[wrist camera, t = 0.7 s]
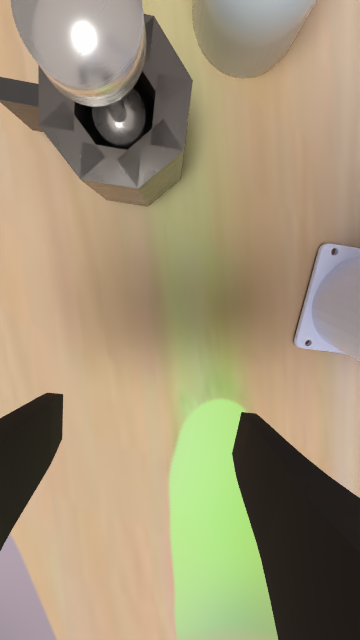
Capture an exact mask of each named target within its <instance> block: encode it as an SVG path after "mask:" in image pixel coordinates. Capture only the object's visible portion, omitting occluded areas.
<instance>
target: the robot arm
mask: <svg viewBox="0 0 360 640" xmlns="http://www.w3.org/2000/svg"><path fill="white" fill-rule="evenodd" d="M333 248H334V249H335V253H334V254H333V255H332V254H331V251H332V249H333ZM307 340H309V343H308V344H305V342H306V341H307ZM294 344H295V345H296V346H297V347H299V348H304V349H312V350H320V351H328V352H335V353H343V354H347V355H349V356H351V357H352V358H354V359H356V360H357V361H359V362H360V248H356V247H349V246H343V245H337V244H330V243H328V244H323V245H321V246H320V248H319V250H318V254H317V258H316V261H315V265H314V269H313V272H312V276H311V280H310V283H309V287H308V291H307V294H306V298H305V302H304V305H303V309H302V313H301V316H300V320H299V324H298V327H297V331H296V335H295V338H294ZM62 419H63V394H55V393H46V394H44V395H42V396H40V397H38V398H36V399H34V400H32V401H31V402H29V403H27V404H25V405H24V406H22V407H20V408H18V409H16V410H15V411H13V412H11V413H9V414H7V415H6V416H4V417H2V418H0V551H1V549H2V547H3V545H4V543H5V541H6V539H7V537H8V536H9V534H10V532H11V530H12V528H13V527H14V525H15V523H16V522H17V520H18V518H19V517H20V515H21V513H22V512H23V510H24V508H25V507H26V505H27V503H28V501H29V500H30V498H31V496H32V495H33V493H34V491H35V490H36V488H37V486H38V485H39V483H40V481H41V480H42V478H43V476H44V475H45V473H46V471H47V469H48V468H49V466H50V464H51V462H52V460H53V458H54V456H55V453H56V451H57V449H58V447H59V444H60V442H61V440H62ZM232 455H233V461H234V467H235V472H236V477H237V481H238V485H239V488H240V491H241V494H242V498H243V501H244V504H245V507H246V510H247V514H248V517H249V520H250V523H251V526H252V530H253V533H254V536H255V539H256V542H257V546H258V550H259V553H260V557H261V560H262V565H263V569H264V574H265V578H266V583H267V587H268V592H269V596H270V600H271V606H272V611H273V615H274V620H275V625H276V630H277V634H278V640H360V498H359V497H357V496H356V495H354V494H353V493H352V492H350V491H349V490H347V489H346V488H345V487H343V486H342V485H340V484H339V483H338V482H336V481H335V480H333V479H332V478H331V477H329V476H328V475H327V474H326V473H324V472H323V471H322V470H320V469H319V468H318V467H317V466H315V465H314V464H313V463H312V462H311V461H309V460H308V459H307V458H306V457H304V456H303V455H302V454H301V453H300V452H299V451H297V450H296V449H295V448H294V447H293V446H292V445H291V444H290V443H288V442H287V441H286V440H285V439H284V438H283V437H282V436H281V435H280V434H278V433H277V432H276V431H275V430H274V429H273V428H272V427H271V426H270V425H269V424H267V423H266V422H265V421H264V420H263V419H262V418H261V417H260V416H258V415H257V414H254V413H244V412H242V413H241V417H240V422H239V426H238V430H237V435H236V439H235V444H234V448H233V452H232Z"/></svg>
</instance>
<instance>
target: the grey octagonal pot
mask: <svg viewBox="0 0 360 640" xmlns="http://www.w3.org/2000/svg"><path fill="white" fill-rule="evenodd" d="M144 22H145V31H146V56H145V62H144V66H143V69H142V72H141V74H140V77H139V79H138V80H137V82H136V84H135V85H134V87H133V88H134V89H135V90H136V91H137V92H138V94H139V95H140V97H141V99H142V101H143V104H144V108H145V113H146V128H145V131H144V134H143V136H142V138H141V139H139V140H138V141H137V142H136V143H135V144H134V145H133V146H131V147H127V148H118V147H115V146H112V145H111V144H109V143H108V142H106V141H105V140H104V138H103V137H102V136H101V134H100V133H99V131H98V129H97V128H96V126H95V124H94V121H93V117H92V106H86V105H82V104H79V103H77V102H74V101H73V100H71V99H69V98H67V97H66V96H65V95H63V94H62V93H61V92H60V91H59V90H58V89H57V88H56V87H55V86H54V85H53V84H52V83H51V81H50V80H49V79H48V77H47V76H46V74H45V73H44V72H43V70H42V69H41V68H40V66H39V84H35V83H30V82H24V81H19V80H13V79H8V78H3V77H0V102H1V103H2V104H3V105H4V106H6V107H7V108H8V109H9V110H10V111H11V112H12V113H14V114H15V115H16V116H17V117H18V118H19V119H21V120H22V121H23V122H24V123H25V124H26V125H27V126H29V127H30V128H31V129H32V130H35V131H40V132H44V133H45V134H46V135H47V137H48V138H49V139H50V140H51V142H52V143H53V144H54V146H55V147H56V148H57V150H58V151H59V152H60V153H61V155H62V156H63V157H64V159H65V160H66V161H67V163H68V164H69V165H70V166H71V168H72V169H73V170H74V172H75V173H76V174H77V176H78V177H79V178H80V179H81V180H82V181H83V182H84V183H86V184H87V185H88V186H90V187H91V188H92V189H93V190H95V191H96V192H97V193H99V194H100V195H101V196H102V197H104V198H105V199H106V200H111V201H117V202H124V203H130V204H136V205H142V206H149V205H150V204H151V203H152V202H154V201H155V200H156V199H157V198H158V197H160V196H161V195H162V194H163V193H164V192H166V191H167V190H168V189H169V188H171V187H172V186H173V185H174V184H175V183H177V182H178V181H179V180H180V177H181V170H182V162H183V154H184V147H185V139H186V131H187V123H188V115H189V106H190V98H191V90H192V81H193V80H192V79H191V77H190V75H189V74H188V72H187V70H186V69H185V67H184V65H183V64H182V62H181V60H180V59H179V57H178V55H177V54H176V52H175V50H174V49H173V47H172V45H171V44H170V42H169V40H168V39H167V37H166V35H165V34H164V32H163V30H162V29H161V27H160V25H159V24H158V22H157V20H156V19H155V17H154V16H151V15H146V14H144Z"/></svg>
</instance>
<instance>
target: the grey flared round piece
mask: <svg viewBox="0 0 360 640" xmlns="http://www.w3.org/2000/svg"><path fill="white" fill-rule="evenodd" d="M11 7H12V13H13V17H14V20H15V24H16V27H17V29H18V32H19V34H20V37H21V38H22V40H23V42H24V44H25V46H26V47H27V49H28V51H29V52H30V54H31V55H32V56H33V58H34V59H35V61H36V62H37V63H38V65H39V66H40V68H41V69H42V70H43V72H44V73H45V74H46V76H47V77H48V79H49V80H50V81H51V83H52V84H53V85H54V86H55V87H56V88H57V89H58V90H59V91H60V92H61V93H62V94H63V95H65V96H66V97H67V98H69V99H71V100H73V101H74V102H77V103H79V104H82V105H86V106H92V117H93V121H94V124H95V126H96V128H97V129H98V131H99V133H100V134H101V136H102V137H103V138H104V140H105V141H106V142H108V143H109V144H111V145H112V146H115V147H118V148H127V147H131V146H133V145H134V144H135V143H136V142H137V141H138V140H139V139H141V138H142V136H143V134H144V131H145V128H146V113H145V108H144V104H143V101H142V99H141V97H140V95H139V94H138V92H137V91H136V90H135V89H134V88H133V87H134V85H135V84H136V82H137V80H138V79H139V77H140V74H141V72H142V69H143V66H144V62H145V56H146V31H145V22H144V14H143V6H142V0H11Z"/></svg>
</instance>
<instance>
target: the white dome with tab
mask: <svg viewBox="0 0 360 640" xmlns="http://www.w3.org/2000/svg"><path fill="white" fill-rule="evenodd" d="M316 1H317V0H193V9H192V14H193V26H194V31H195V35H196V39H197V41H198V44H199V46H200V48H201V50H202V52H203V54H204V55H205V57H206V58H207V60H208V61H209V62H210V63H211V64H212V65H213V66H214V67H215V68H216V69H217V70H219V71H221V72H222V73H224V74H226V75H228V76H231V77H235V78H252V77H256V76H259V75H262V74H264V73H266V72H267V71H269V70H270V69H272V68H273V67H274V66H275V65H276V64H277V63H279V62H280V60H281V59H282V58H283V57H284V55H285V54H286V52H287V51H288V49H289V48H290V46H291V44H292V42H293V41H294V39H295V37H296V36H297V34H298V32H299V30H300V29H301V27H302V25H303V23H304V22H305V20H306V18H307V17H308V15H309V13H310V11H311V10H312V8H313V6H314V4H315V3H316Z"/></svg>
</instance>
